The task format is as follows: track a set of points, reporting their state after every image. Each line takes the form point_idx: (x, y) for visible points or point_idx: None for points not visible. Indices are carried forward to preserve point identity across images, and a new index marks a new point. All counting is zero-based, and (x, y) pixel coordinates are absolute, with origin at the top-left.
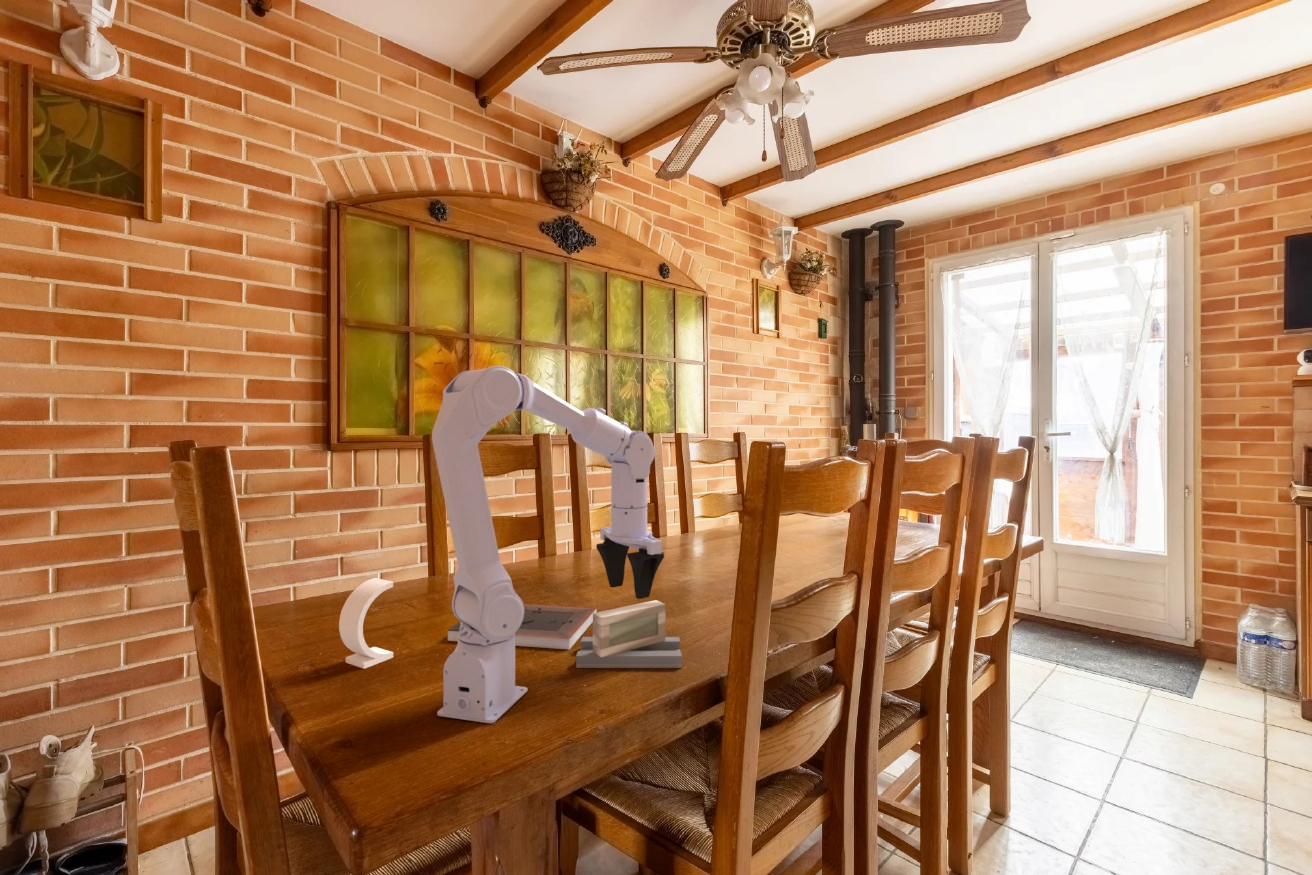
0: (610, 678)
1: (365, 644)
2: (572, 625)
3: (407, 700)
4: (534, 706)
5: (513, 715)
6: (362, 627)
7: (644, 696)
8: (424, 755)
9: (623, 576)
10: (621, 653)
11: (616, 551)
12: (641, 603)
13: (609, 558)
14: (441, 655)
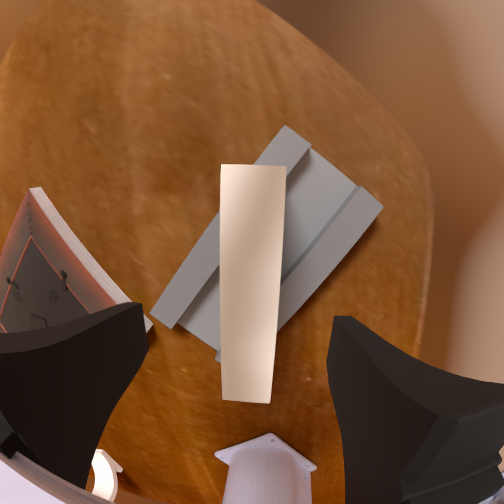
0: (317, 339)
1: (114, 484)
2: (82, 285)
3: (212, 482)
4: (313, 436)
5: (314, 452)
6: (110, 497)
7: (404, 330)
8: (319, 492)
9: (121, 313)
10: (283, 305)
11: (58, 424)
12: (223, 238)
13: (90, 433)
14: (110, 430)
